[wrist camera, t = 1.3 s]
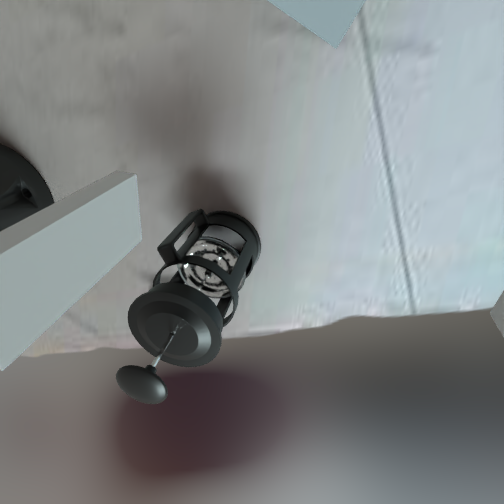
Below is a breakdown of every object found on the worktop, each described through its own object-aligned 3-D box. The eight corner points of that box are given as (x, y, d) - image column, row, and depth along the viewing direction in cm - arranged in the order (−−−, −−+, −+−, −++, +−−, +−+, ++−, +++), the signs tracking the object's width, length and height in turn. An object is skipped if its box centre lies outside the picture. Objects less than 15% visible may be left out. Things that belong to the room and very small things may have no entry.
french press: (273, 268, 45) (223, 431, 25) (214, 283, 48) (130, 436, 29) (237, 188, 40) (142, 314, 21) (174, 211, 44) (43, 336, 24)
